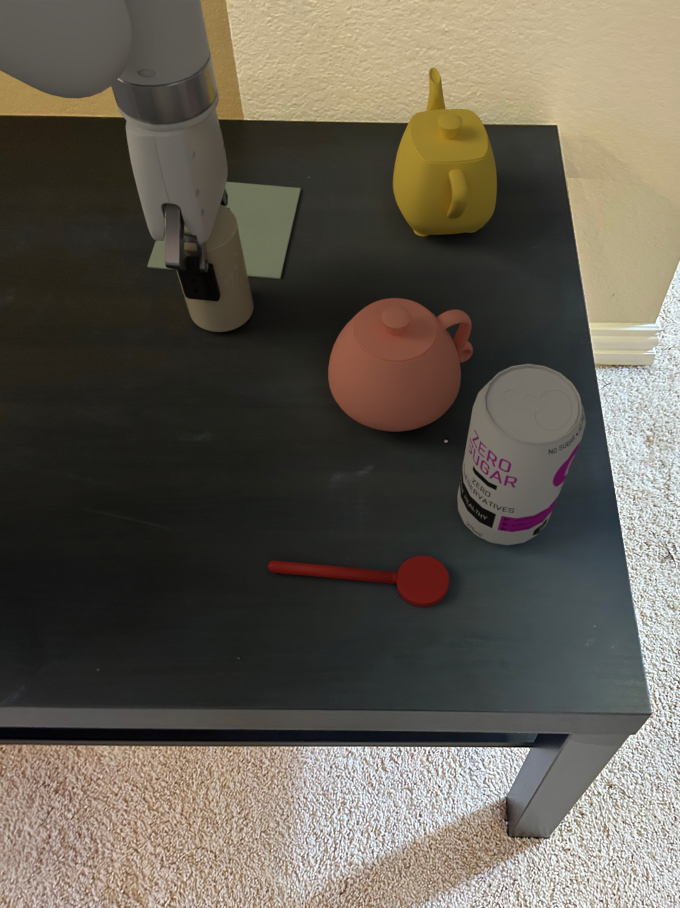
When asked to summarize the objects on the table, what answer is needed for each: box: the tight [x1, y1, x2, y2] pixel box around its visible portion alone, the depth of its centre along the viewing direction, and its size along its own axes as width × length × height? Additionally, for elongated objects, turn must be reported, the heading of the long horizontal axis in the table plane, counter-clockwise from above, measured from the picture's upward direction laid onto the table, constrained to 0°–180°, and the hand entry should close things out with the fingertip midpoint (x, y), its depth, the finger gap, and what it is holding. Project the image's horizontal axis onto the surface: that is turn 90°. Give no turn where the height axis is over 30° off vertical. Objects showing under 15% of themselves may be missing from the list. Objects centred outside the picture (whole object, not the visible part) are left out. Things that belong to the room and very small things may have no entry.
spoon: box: [267, 555, 450, 608], centre depth 63 cm, size 15×4×1 cm, turn 85°
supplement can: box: [456, 363, 587, 546], centre depth 60 cm, size 8×8×15 cm
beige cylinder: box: [175, 204, 255, 333], centre depth 71 cm, size 6×6×10 cm
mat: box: [146, 181, 302, 280], centre depth 82 cm, size 14×14×1 cm
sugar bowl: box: [327, 297, 474, 433], centre depth 68 cm, size 12×14×10 cm
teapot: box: [392, 67, 498, 237], centre depth 79 cm, size 18×11×11 cm, turn 8°
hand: (211, 268), depth 71 cm, fingers closed on beige cylinder, 6 cm apart
